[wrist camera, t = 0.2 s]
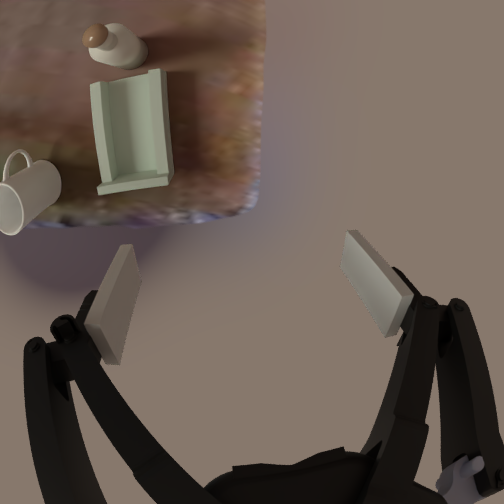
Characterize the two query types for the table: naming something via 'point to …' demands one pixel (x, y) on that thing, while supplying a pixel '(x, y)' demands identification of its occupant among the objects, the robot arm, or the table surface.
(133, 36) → the bottle
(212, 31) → the table surface
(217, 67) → the table surface
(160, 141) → the cradle
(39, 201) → the mug
